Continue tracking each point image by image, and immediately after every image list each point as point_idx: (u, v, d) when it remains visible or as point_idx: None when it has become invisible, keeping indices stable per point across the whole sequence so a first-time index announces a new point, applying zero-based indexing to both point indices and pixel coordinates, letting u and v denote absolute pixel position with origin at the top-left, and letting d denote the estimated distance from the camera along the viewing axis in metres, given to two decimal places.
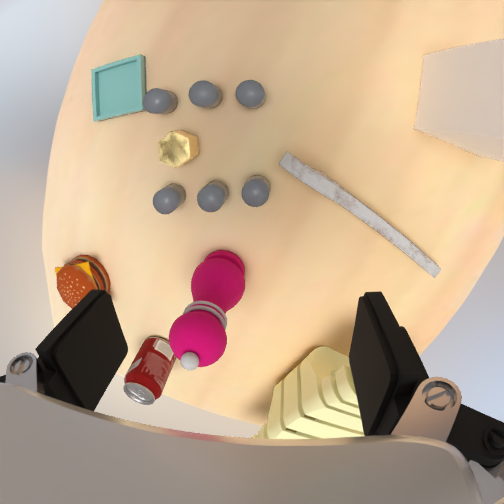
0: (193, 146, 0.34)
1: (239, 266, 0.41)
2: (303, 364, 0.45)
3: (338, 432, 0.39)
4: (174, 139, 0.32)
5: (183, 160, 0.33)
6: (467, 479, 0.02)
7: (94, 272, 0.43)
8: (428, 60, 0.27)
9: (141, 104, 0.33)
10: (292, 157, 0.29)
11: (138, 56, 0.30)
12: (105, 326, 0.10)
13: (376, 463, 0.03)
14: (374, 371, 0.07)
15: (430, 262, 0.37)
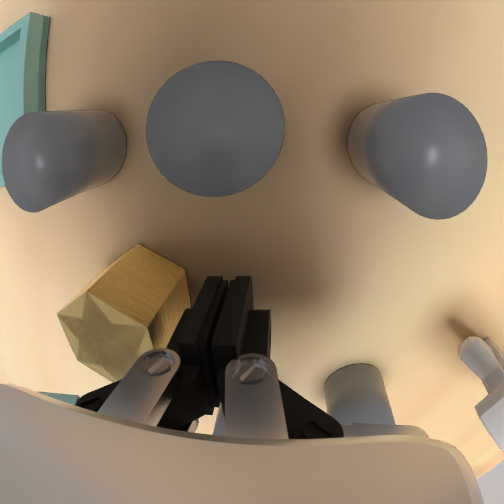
0: (171, 322, 0.10)
1: None
2: None
3: None
4: (100, 319, 0.09)
5: None
6: (467, 479, 0.02)
7: None
8: None
9: None
10: None
11: (26, 18, 0.06)
12: None
13: (376, 463, 0.03)
14: None
15: None
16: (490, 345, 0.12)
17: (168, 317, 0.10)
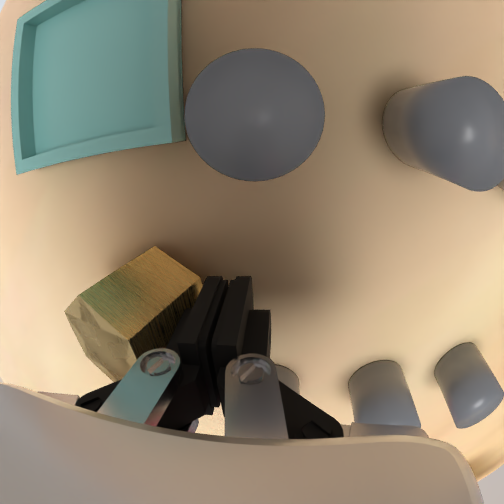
0: None
1: None
2: None
3: None
4: (93, 323, 0.08)
5: None
6: (467, 479, 0.02)
7: None
8: None
9: (167, 119, 0.09)
10: None
11: None
12: None
13: (376, 463, 0.03)
14: None
15: None
16: None
17: (166, 329, 0.09)
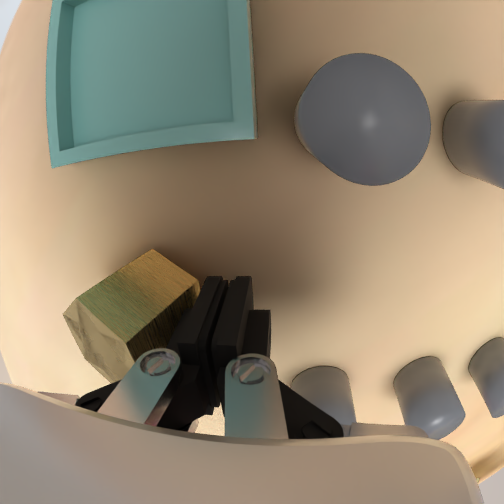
0: (169, 337, 0.10)
1: None
2: None
3: None
4: (91, 326, 0.08)
5: None
6: (467, 479, 0.02)
7: None
8: None
9: (249, 114, 0.08)
10: None
11: None
12: None
13: (376, 463, 0.03)
14: None
15: None
16: None
17: (163, 332, 0.09)
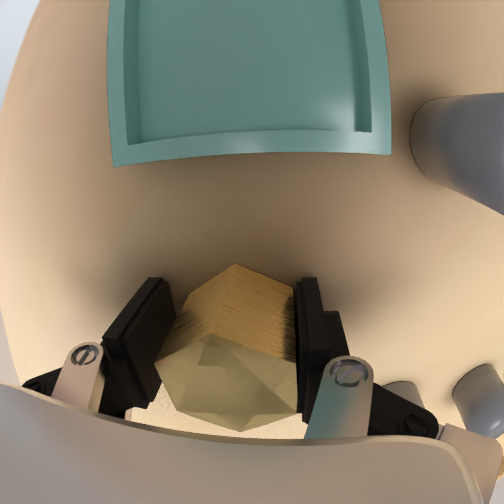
0: None
1: None
2: None
3: None
4: (227, 363, 0.07)
5: (270, 419, 0.08)
6: (467, 479, 0.02)
7: None
8: None
9: (387, 126, 0.07)
10: None
11: None
12: (164, 313, 0.10)
13: (376, 463, 0.03)
14: (298, 349, 0.08)
15: None
16: None
17: None
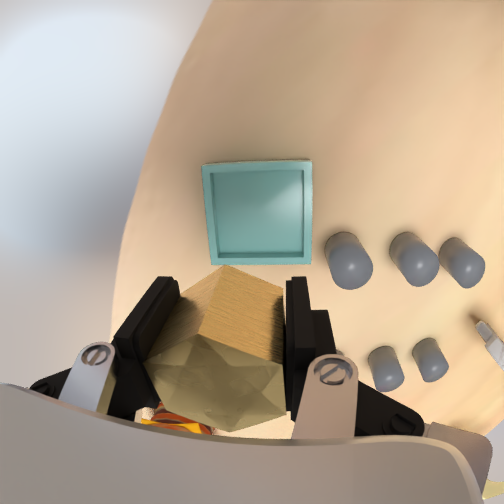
0: None
1: None
2: None
3: None
4: (214, 363, 0.07)
5: (259, 420, 0.08)
6: (467, 479, 0.02)
7: (202, 427, 0.33)
8: None
9: (309, 254, 0.23)
10: (503, 347, 0.19)
11: (307, 164, 0.21)
12: None
13: (376, 463, 0.03)
14: None
15: None
16: (488, 326, 0.26)
17: (284, 346, 0.09)
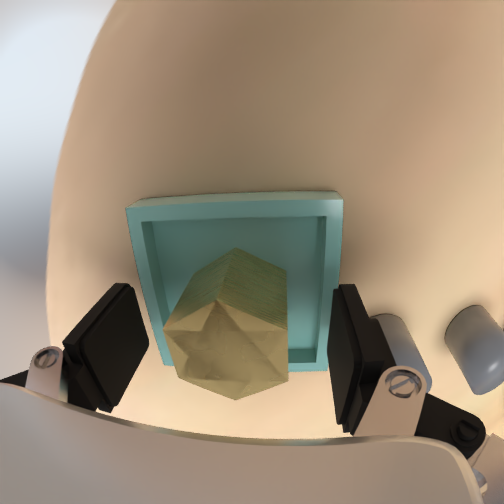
0: None
1: None
2: None
3: None
4: (228, 329, 0.09)
5: (263, 386, 0.10)
6: (467, 479, 0.02)
7: None
8: None
9: (326, 359, 0.13)
10: None
11: (334, 205, 0.10)
12: (129, 319, 0.10)
13: (376, 463, 0.03)
14: (343, 359, 0.08)
15: None
16: None
17: (287, 319, 0.10)
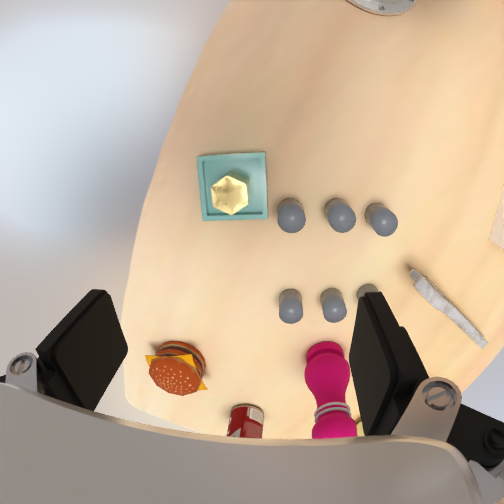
0: (248, 190, 0.34)
1: (342, 355, 0.44)
2: None
3: None
4: (229, 184, 0.32)
5: (240, 207, 0.33)
6: (467, 479, 0.02)
7: (194, 360, 0.46)
8: None
9: (266, 212, 0.36)
10: (428, 284, 0.32)
11: (262, 154, 0.33)
12: (106, 326, 0.10)
13: (376, 463, 0.03)
14: (374, 371, 0.07)
15: (483, 340, 0.39)
16: (426, 278, 0.38)
17: (248, 187, 0.34)
